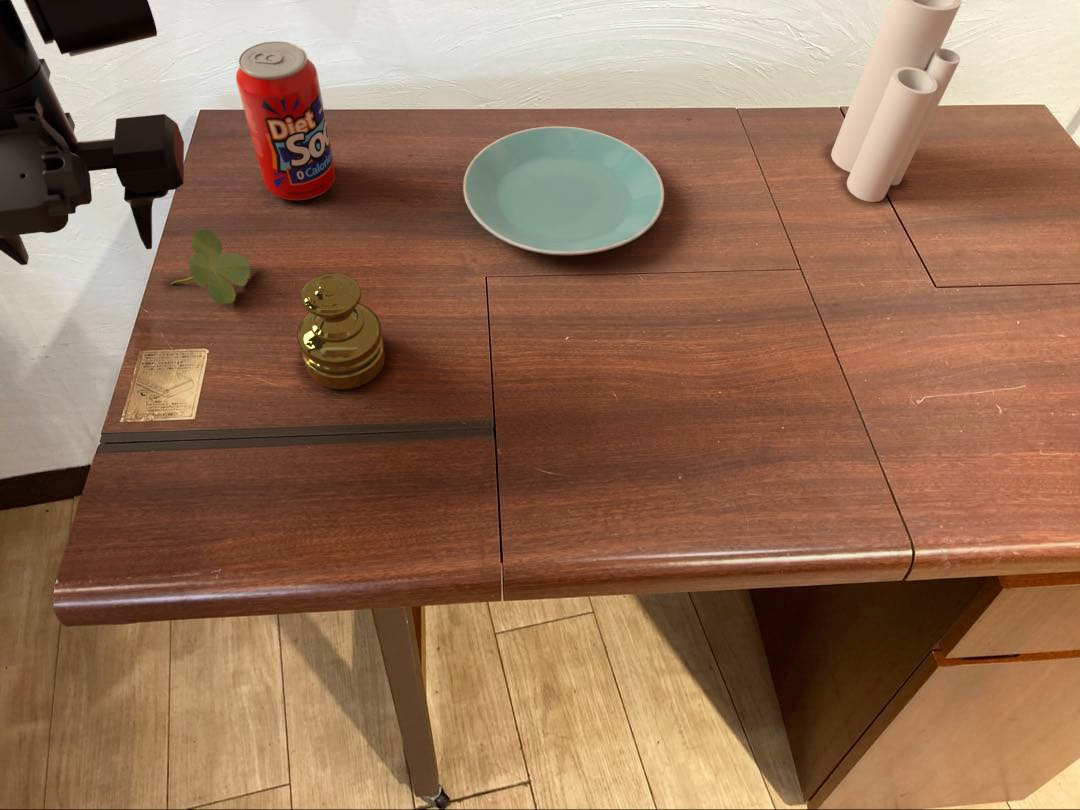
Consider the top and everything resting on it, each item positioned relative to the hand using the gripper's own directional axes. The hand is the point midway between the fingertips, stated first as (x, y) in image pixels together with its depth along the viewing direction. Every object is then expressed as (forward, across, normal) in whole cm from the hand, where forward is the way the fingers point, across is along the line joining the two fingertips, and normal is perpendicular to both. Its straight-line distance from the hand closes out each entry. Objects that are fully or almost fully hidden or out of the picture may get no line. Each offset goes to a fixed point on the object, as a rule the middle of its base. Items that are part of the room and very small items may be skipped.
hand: (88, 253), depth 64 cm
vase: (+13, +82, +13) cm, 84 cm away
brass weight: (+13, +18, -4) cm, 23 cm away
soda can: (+13, +16, +23) cm, 31 cm away
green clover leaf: (+13, +6, +9) cm, 17 cm away
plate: (+13, +44, +14) cm, 48 cm away
